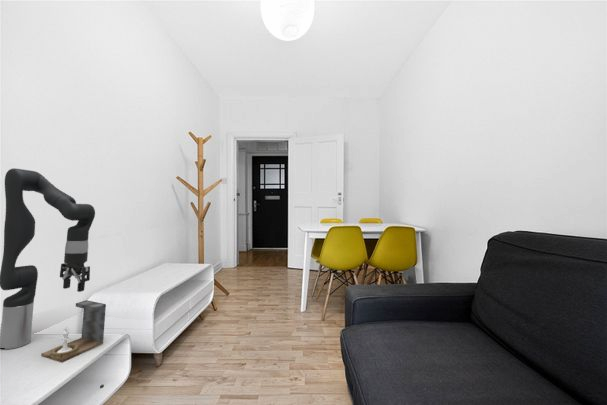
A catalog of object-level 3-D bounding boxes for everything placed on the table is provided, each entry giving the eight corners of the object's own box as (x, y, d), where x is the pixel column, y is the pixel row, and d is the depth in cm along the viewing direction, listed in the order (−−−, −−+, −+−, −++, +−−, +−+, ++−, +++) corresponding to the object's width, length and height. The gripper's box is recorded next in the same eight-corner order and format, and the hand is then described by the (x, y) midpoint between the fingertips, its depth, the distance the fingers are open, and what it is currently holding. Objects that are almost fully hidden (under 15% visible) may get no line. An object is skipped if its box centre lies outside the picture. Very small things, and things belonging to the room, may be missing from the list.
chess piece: (63, 356, 108) (65, 330, 108) (53, 354, 109) (55, 329, 109) (75, 350, 113) (77, 325, 113) (65, 348, 114) (67, 324, 114)
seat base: (40, 356, 109) (44, 312, 109) (83, 338, 124) (86, 300, 125) (61, 362, 105) (64, 317, 106) (103, 343, 121) (105, 304, 121)
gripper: (54, 250, 113) (51, 289, 113) (78, 254, 109) (75, 295, 108) (74, 248, 120) (71, 285, 120) (98, 251, 116) (94, 290, 116)
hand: (73, 289), depth 114 cm, fingers open, 8 cm apart
